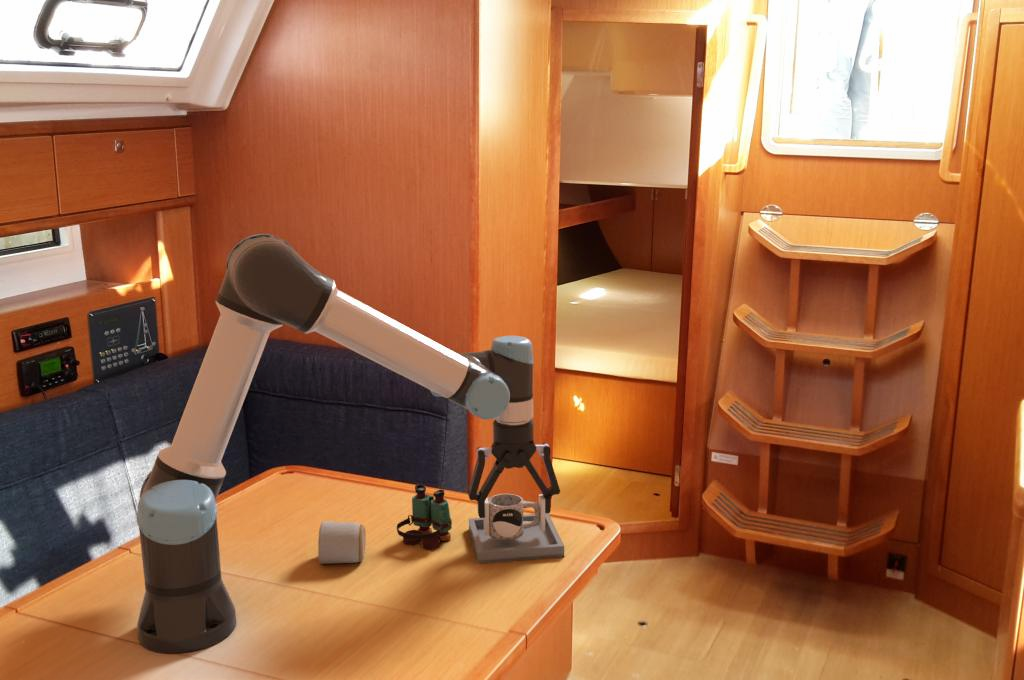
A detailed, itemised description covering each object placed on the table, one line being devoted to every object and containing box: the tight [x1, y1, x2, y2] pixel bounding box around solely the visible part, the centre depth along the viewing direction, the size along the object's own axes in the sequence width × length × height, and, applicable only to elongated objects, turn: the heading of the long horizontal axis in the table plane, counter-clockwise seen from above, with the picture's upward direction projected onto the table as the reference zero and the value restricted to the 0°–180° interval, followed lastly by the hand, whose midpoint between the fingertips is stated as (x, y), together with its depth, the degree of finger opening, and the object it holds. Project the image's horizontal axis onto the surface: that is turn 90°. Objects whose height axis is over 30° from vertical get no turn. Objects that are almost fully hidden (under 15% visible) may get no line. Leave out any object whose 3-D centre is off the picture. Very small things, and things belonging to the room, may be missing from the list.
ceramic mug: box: [317, 520, 367, 565], centre depth 191 cm, size 11×8×8 cm
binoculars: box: [396, 483, 453, 551], centre depth 197 cm, size 9×11×10 cm
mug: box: [487, 493, 540, 540], centre depth 196 cm, size 10×7×7 cm
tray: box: [468, 513, 565, 565], centre depth 197 cm, size 16×16×2 cm
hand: (514, 530), depth 197 cm, fingers closed on mug, 10 cm apart
